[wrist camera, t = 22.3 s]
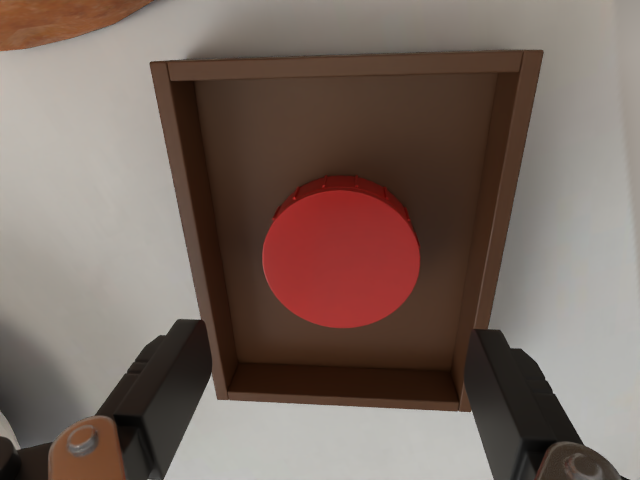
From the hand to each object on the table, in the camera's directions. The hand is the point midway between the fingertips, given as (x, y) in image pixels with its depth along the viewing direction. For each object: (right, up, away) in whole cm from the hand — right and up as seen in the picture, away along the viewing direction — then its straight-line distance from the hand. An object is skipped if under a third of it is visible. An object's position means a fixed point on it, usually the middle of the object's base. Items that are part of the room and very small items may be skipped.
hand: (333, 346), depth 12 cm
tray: (+1, +3, +6) cm, 7 cm away
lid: (0, +2, +4) cm, 5 cm away
